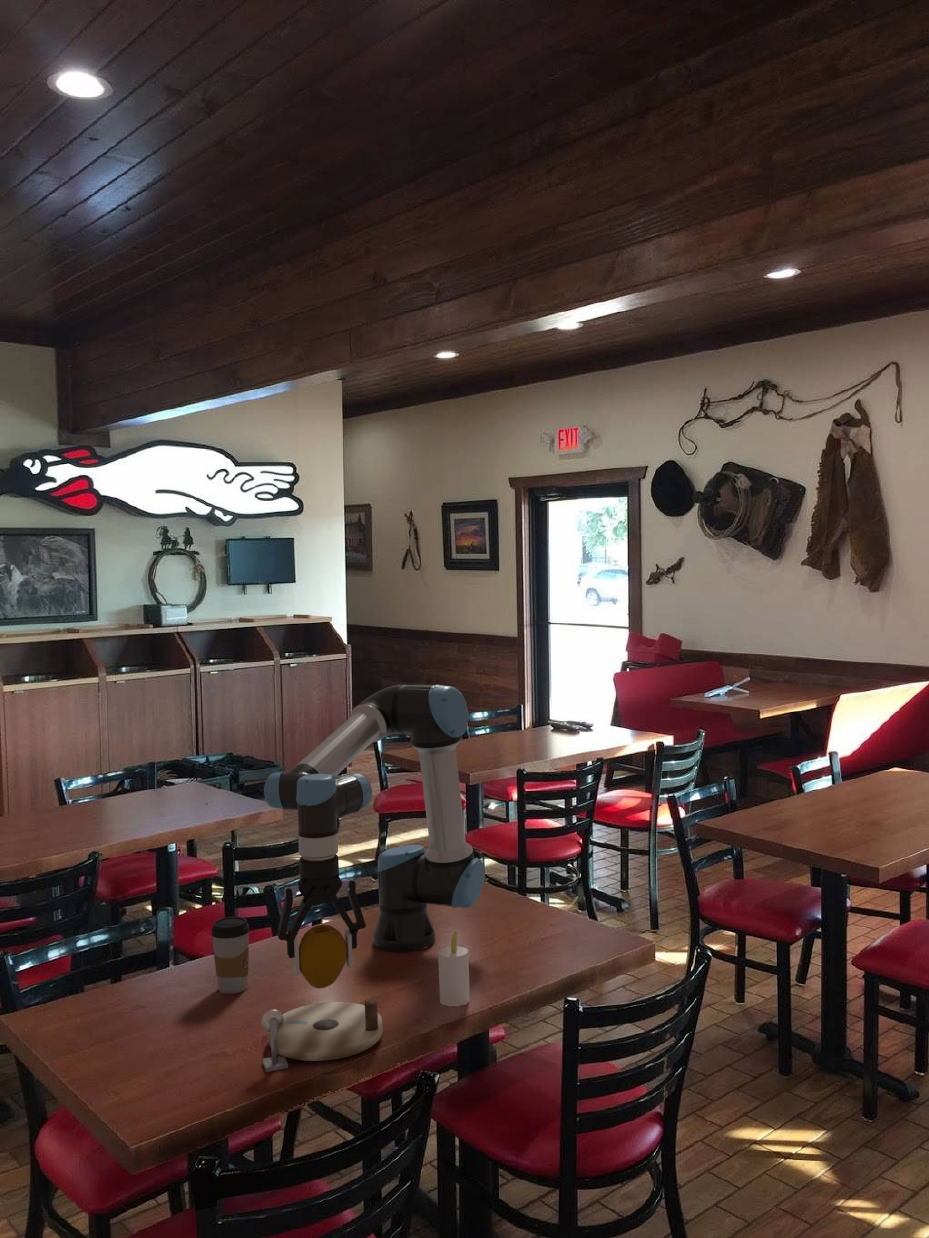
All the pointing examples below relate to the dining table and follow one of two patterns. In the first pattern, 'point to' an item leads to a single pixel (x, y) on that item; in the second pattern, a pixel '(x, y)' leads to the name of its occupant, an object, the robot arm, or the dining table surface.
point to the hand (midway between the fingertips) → (323, 969)
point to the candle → (454, 974)
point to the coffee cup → (231, 953)
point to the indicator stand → (273, 1040)
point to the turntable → (329, 1030)
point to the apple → (322, 955)
